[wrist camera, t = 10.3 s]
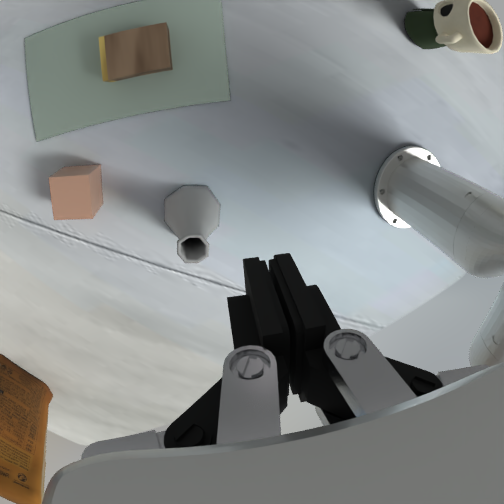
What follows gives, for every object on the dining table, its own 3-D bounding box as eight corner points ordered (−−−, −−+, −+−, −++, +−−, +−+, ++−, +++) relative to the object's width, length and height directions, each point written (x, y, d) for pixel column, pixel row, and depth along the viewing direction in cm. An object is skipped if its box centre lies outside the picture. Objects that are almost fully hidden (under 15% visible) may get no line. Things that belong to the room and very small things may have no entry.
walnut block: (108, 42, 27) (169, 29, 28) (112, 82, 29) (172, 69, 30) (98, 37, 23) (166, 22, 24) (102, 81, 26) (170, 66, 27)
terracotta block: (100, 164, 34) (88, 174, 30) (103, 203, 36) (92, 218, 32) (64, 166, 33) (48, 177, 29) (68, 204, 35) (54, 219, 31)
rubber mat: (219, -10, 26) (220, -11, 26) (229, 100, 33) (230, 100, 33) (26, 38, 24) (24, 38, 23) (38, 141, 30) (36, 142, 30)
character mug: (427, -4, 28) (490, -14, 17) (450, 36, 32) (515, 37, 20) (381, 22, 30) (448, 11, 19) (409, 66, 34) (477, 69, 22)
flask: (155, 193, 37) (144, 227, 28) (212, 176, 37) (219, 205, 29) (173, 244, 41) (170, 288, 32) (227, 229, 41) (238, 270, 32)
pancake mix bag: (-13, 337, 42) (-64, 458, 18) (65, 389, 51) (44, 515, 26) (-19, 353, 43) (-63, 465, 19) (54, 401, 52) (34, 517, 28)
